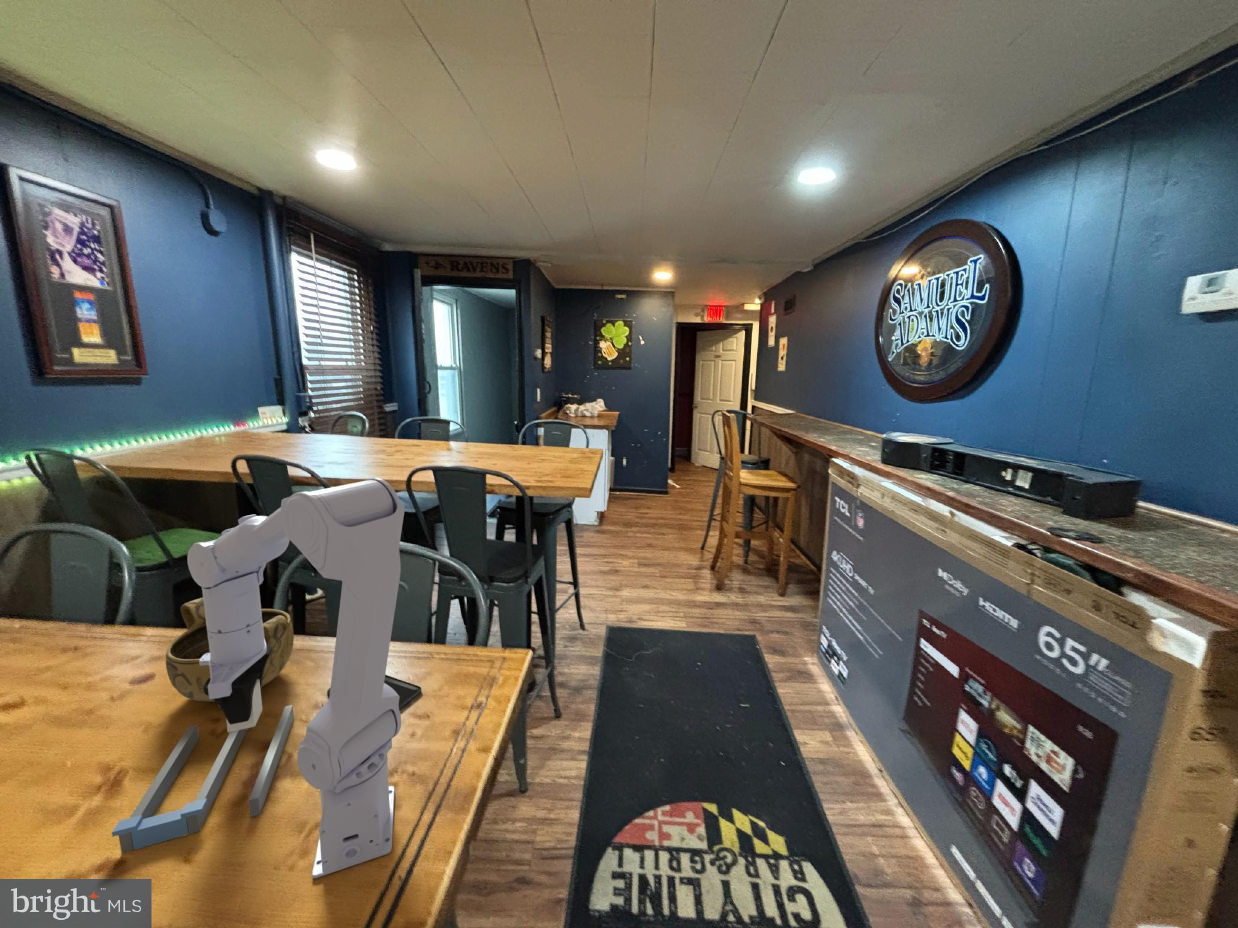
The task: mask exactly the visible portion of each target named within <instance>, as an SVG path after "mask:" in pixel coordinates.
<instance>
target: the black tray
mask: <svg viewBox="0 0 1238 928" xmlns="http://www.w3.org/2000/svg"><path fill="white" fill-rule="evenodd" d="M384 683H385V684H387V685H388V686H390V687H391V688H392V689H393V690H394V691H395V692H396V693H397V694H398V695H399V697H400V698H399V711H400V712H402V711H403V710H404V709H405V708H407V707H408V706H409V705H410V704H411V703H413V702H414V701H415V700H416V699H418V698H419V697H420V696H421V695H422V687H421V686H419V685H416V684H414V683H411V682H408V681H404V680H401V679H399V678H397V677H395V676H394V677H393V676H390V675H388V674H385V679H384ZM330 688H331V686H330V687H329V688H328V689H327V691H326V695H327V698H329V697H330Z"/></svg>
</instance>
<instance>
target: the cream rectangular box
mask: <svg viewBox="0 0 1238 928" xmlns="http://www.w3.org/2000/svg"><path fill="white" fill-rule="evenodd" d="M261 693H262V689H261V690H260V680H259V679H257V681H256V684H255V687H254V691H253V698H252V711H251V715H250V718H249V720H248V721H246V722H241V723H236V724H231V725H230V724H229V722H228V720H227V719H226V718H225V722H226V729H227V733H230V732H231V731H236V730H241V729H245V728H248V729H249V728H254V727H256V725H257V723H258V721H259V718H260V716H261V714H262V712H263V703H262V702H263V699H262V694H261Z"/></svg>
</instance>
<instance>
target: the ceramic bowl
mask: <svg viewBox="0 0 1238 928" xmlns="http://www.w3.org/2000/svg"><path fill="white" fill-rule="evenodd" d="M180 613H181V617H182V619H183V621H184V623H185V626H186V627H187V630H186V631H184V632H183V633H181V634H180V635H178V636H177V637H176V638H174V639H173V640H172V641H171V642H170V644H169V645H168V646H167V648H166V654H165V668H166V673H167V676H168V679H169V682H170V684H171V686H173V688H174V689H175V690H176V691H177V692H178V693H179V694H180V695H181V696H183V697H184V698H186V699H190V700H193V701H198V702H206V703H208V702H209V703H210V702H211V703H212V702H213V703H214V702H215V701H214V700H213V699H209V696H207V695H206V694H205V693H204V689H203V686H204V684H205V683H206V681H207V680H208V679H209V678H211V676H210V668H209V665H203V666H201V665H200V664H199V660H200V659H201V657H202V656H203V655H204V654H206V653H210V650H209V642H208V634H207V626H206V618H205V609H204V601H203V597H200V598H197V599H193V600H190V601H188V602H184V604H182V605H181V606H180ZM261 613H262V622H263V627H264V638H265V641H266V645H267V646H271V647H272V652H271V654H270V656H269V658H268V660H267V663H266V666H265V670H264V674H263V680H262V687H264V686H266V685H267V684H269V683H270V682H272V681H273V680H274V679H275V678H276V677H277V676H278V675H279V674H280V673H281V672H282V671H283V670H284V668H285V667H286V665H287V664H288V662H289V660H290V658H291V655H292V653H293V647H294V639H295V637H294V636H295V635H294V628H293V622H292V620H291V616H290V614H289V613H288V612H285V611H283V610H280V609H273V608H261ZM262 687H261V688H262ZM215 703H216V702H215Z"/></svg>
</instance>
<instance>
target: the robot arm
mask: <svg viewBox="0 0 1238 928" xmlns="http://www.w3.org/2000/svg"><path fill="white" fill-rule="evenodd" d="M405 509H406V507H405V506H404V504H403V503H402V500H401V499H400V498H399V496H398V494H397V493H396V491H395V489H394V488H393V486H392V485H391V484H390V483H389V482H387V481H386V479H383V478H380V477H371V478H367V479H365V480H363V481H357V482H352V483H347V484H343V485H342V484H341V485H336V486H331V487H326V488H322V489H317V490H312V491H307V490H306V491H298V492H296V493H295V492H294V493H293V494H292V495H290V496H288V497H285V498H283V499H281V504H280V507H279V508H278V509H276V510H275V511H273V512H272V513H271V514H270V515H269V516H266V515H257V514H250V515H245V516H242V517H240V518H239V519H238V520H237V522H238V525H237V526H234V527H232V528H228V529H225V530H223V531H222V532H221V536H219V537H218V538H216V539H213V540H209V541H201V542H200V541H198V542H195V543H193V544H192V546H191V547H190V548H189V549H188V553H187V556H186V557H187V566H188V570H189V573H190V575H191V578H192V579H193V580H194V582H195V583H196V584H197V585H198V586H200V587H201V591H202V598H203V601H204V609H205V618H206V626H207V634H208V642H209V650H210V653H206V654H204V655H203V656H202V657H201V659H200V660H199V664H200V665H201V666H203V665H209V668H210V676H211V678H209V679H208V680H207V681H206V683H205V684H204V686H203V689H204V693H205V694H206V695H207V696H209V699H213V700H214V701H215V703H216V704H217V705H218V706H219V707H220V709H221V711H222V713H223V714H224V716H225V720H226V719H227V720H228V722H229V724H230V725H231V724H236V723H241V722H246V721H248V720H249V718H250V715H251V711H252V698H253V691H254V687H255V684H256V681H257V679H259V680H260V690H261V691H262V680H263V674H264V670H265V666H266V663H267V660H268V658H269V656H270V654H271V652H272V647H271V646H267V645H266V641H265V638H264V627H263V622H262V613H261V609H262V604H261V594H260V593H261V592H260V585H262V584H263V581H264V571H265V568H266V566H267V563H269V562H271V561H273V560H274V559H276V558H278V557H280V556H281V555H282V554H283V553H284V552H285V551H286V550H287V548H288V546H289V544H290V542H291V543H292V544H293V545H294V546H295V547H296V548H297V549H298V550H299V551H300V553H302V554H303V556H304V557H305V559H307V561H309V563H310V564H311V565H312V566H313V567H314V568H315V569H316V571H317V572H318V573H319V574H320V575H321V577H322V578H324V579H329V580H335V581H341V583H342V584H341V593H340V600H339V601H340V602H339V611H338V619H337V627H336V637H335V647H334V652H333V653H334V654H333V663H332V670H331V671H332V672H331V680H330V681H331V682H330V687H331V688H330V687H329V688H330V697H328V699H327V701H326V702H325V703H324V705H323V706H322V707H321V708H320V709H319V711H318V712H317V713H316V714H315V715H314V716H313V718H311V720H310V721H309V723H308V724H307V725H306V731H305V736H304V738H303V739H302V740H301V741H300V744H299V745H298V749H297V750H298V751H297V754H296V755H297V756H296V757H297V765H298V769H299V771H300V773H301V775H302V776H303V778H304V780H305V781H306V782H307V783H308V784H309V785H310V786H311V787H312V788H314V789H317V790H319V791H320V792H319V793H320V804H321V819H320V822H319V829H318V832H319V837H318V843H317V848H316V853H315V856H314V862H313V867H312V872H311V876H312V878H314V879H318V878H320V877H323V876H326V875H329V874H331V873H334V872H338V871H341V870H344V869H347V868H349V867H353V866H356V865H358V864H362V863H364V862H367V861H370V860H373V859H376V858H379V857H382V856H385V855H388V854H389V853H390V852H391V851H392V847H393V828H394V827H393V826H394V811H395V810H394V809H395V786H394V785H389V768H388V767H389V765H388V753H389V752H390V750H391V749H392V748H393V738H395V737H396V736H397V735H399V732H400V731H401V727H402V716H401V711H399V698H400V697H399V695H398V694H397V693H396V692H395V691H394V690H393V689H392V688H391V687H390V686H388V685H387V684H385V683H384V679H385V675H386V672H387V665H388V658H389V652H390V645H391V639H392V632H393V626H394V618H395V613H396V612H395V611H396V605H397V600H398V599H397V598H398V594H399V593H398V592H399V585H400V579H401V569H402V568H401V567H402V565H401V557H400V555H401V554H400V543H401V537H402V536H401V535H402V532H403V523H404V516H405Z"/></svg>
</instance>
